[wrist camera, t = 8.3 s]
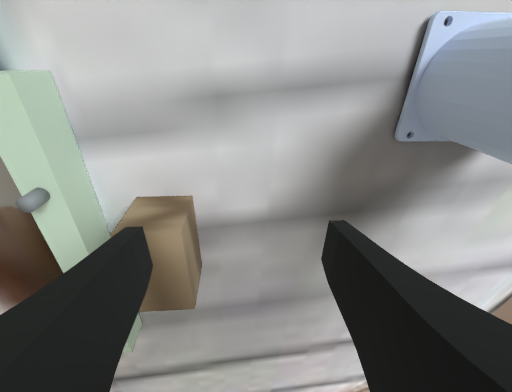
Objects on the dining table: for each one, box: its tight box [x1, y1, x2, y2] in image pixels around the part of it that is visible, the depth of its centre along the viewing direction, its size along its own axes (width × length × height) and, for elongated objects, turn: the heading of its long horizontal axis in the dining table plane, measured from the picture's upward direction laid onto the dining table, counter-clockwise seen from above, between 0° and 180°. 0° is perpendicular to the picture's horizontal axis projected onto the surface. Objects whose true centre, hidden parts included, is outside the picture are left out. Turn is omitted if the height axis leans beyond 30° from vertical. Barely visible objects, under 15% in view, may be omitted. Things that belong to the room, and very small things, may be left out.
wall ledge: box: [0, 70, 142, 353], centre depth 20 cm, size 2×26×5 cm, turn 179°
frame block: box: [111, 196, 202, 312], centre depth 20 cm, size 5×8×5 cm, turn 179°
